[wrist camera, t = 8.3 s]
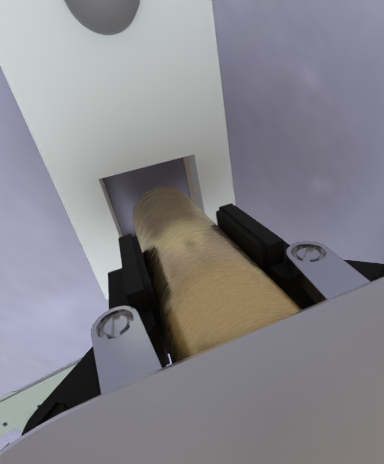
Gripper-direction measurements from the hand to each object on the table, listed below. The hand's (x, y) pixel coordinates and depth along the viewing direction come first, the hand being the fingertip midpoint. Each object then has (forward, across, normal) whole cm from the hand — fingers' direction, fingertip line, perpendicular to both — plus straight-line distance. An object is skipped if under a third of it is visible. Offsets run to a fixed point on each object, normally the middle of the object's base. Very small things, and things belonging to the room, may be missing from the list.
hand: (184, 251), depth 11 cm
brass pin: (+4, 0, 0) cm, 4 cm away
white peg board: (+8, 0, 0) cm, 8 cm away
